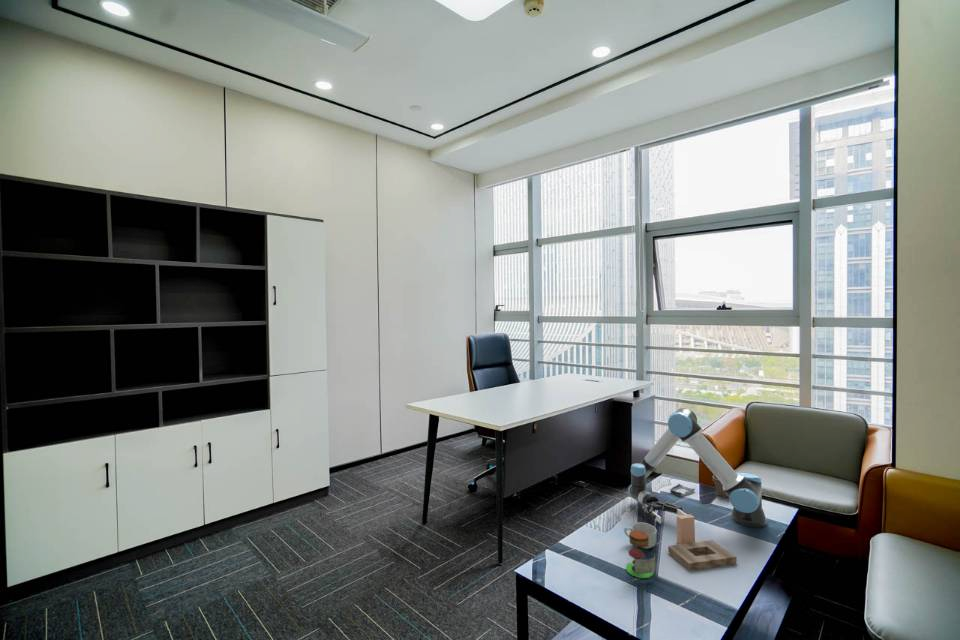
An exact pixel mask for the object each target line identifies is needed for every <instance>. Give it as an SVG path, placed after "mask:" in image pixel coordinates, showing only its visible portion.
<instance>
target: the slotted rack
mask: <svg viewBox="0 0 960 640" xmlns="http://www.w3.org/2000/svg"><path fill="white" fill-rule="evenodd" d="M668 552H669V553H670V554H669V555H670V556H671V557H673V558H674V559H675V560H676V561H677V560H678V561H677V562H678V563H680V564H681V565H682V566H683V567H684V568H686V569H687V570H688V571H689V572H690V571H698V570H704V569H705V570H706V569H711V568H718V567H724V566H725V567H726V566H732V565H737V564H738V563H737V556H736V555H735V554H733V553H732V552H730V551H729V550H727V549H726V548H724V547H723V546H722V545H720V544H719V543H718V542H716V541H714V539H713V540H712V539H710V540H705V541H704V540H703V541H695V543H687V544H679V543H678V544H674V545H668ZM696 555H697V556H696Z"/></svg>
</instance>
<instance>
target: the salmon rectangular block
mask: <svg viewBox="0 0 960 640" xmlns="http://www.w3.org/2000/svg"><path fill="white" fill-rule="evenodd" d="M695 527H696V525H695V516H693V515H692V514H688V513H687V515H676V542H677V541H678V542H679V543H680V544H687V543H695V542H696V532H695V531H696V528H695ZM678 542H677V543H678ZM679 543H678V544H679Z"/></svg>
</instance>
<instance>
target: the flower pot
mask: <svg viewBox="0 0 960 640" xmlns="http://www.w3.org/2000/svg"><path fill="white" fill-rule="evenodd" d="M712 482H713V483H714V485H715V490H716V492H717V496H719V497H723V498H729V496H728V495H727V494H726V493H725V492H724V490H723V484H722V483H721V482H720V481H719V480H718V478H717V477H716V476H715V475H714V474H713V475H712Z"/></svg>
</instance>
